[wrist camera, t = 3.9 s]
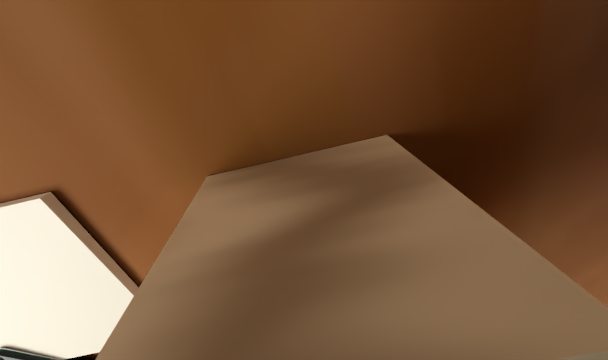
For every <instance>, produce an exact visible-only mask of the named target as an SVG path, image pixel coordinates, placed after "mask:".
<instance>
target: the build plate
mask: <svg viewBox="0 0 608 360" xmlns="http://www.w3.org/2000/svg"><path fill="white" fill-rule="evenodd" d="M0 360H61V359H57V358H52V357H47V356H42V355H37V354H32V353H27V352H22V351H17V350H12V349H7V348H0Z"/></svg>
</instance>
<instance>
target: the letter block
mask: <svg viewBox="0 0 608 360" xmlns="http://www.w3.org/2000/svg"><path fill="white" fill-rule="evenodd" d="M95 360H608V307H607V306H606V305H604V304H603V303H602V302H600V301H599V300H598V299H597V298H595V297H594V296H593V295H591V294H590V293H589V292H588V291H586V290H585V289H584V288H582V287H581V286H580V285H579V284H577V283H576V282H575V281H574V280H572V279H571V278H570V277H568V276H567V275H566V274H565V273H563V272H562V271H561V270H559V269H558V268H557V267H556V266H554V265H553V264H552V263H550V262H549V261H548V260H547V259H545V258H544V257H543V256H542V255H540V254H539V253H538V252H536V251H535V250H534V249H533V248H531V247H530V246H529V245H527V244H526V243H525V242H524V241H522V240H521V239H520V238H518V237H517V236H516V235H515V234H513V233H512V232H511V231H510V230H508V229H507V228H506V227H504V226H503V225H502V224H501V223H499V222H498V221H497V220H495V219H494V218H493V217H492V216H490V215H489V214H488V213H486V212H485V211H484V210H483V209H481V208H480V207H479V206H478V205H476V204H475V203H474V202H472V201H471V200H470V199H469V198H467V197H466V196H465V195H463V194H462V193H461V192H460V191H458V190H457V189H456V188H454V187H453V186H452V185H451V184H449V183H448V182H447V181H446V180H444V179H443V178H442V177H440V176H439V175H438V174H437V173H435V172H434V171H433V170H431V169H430V168H429V167H428V166H426V165H425V164H424V163H423V162H421V161H420V160H419V159H417V158H416V157H415V156H414V155H412V154H411V153H410V152H408V151H407V150H406V149H405V148H403V147H402V146H401V145H399V144H398V143H397V142H396V141H394V140H393V139H392V138H391V137H389V136H388V135H384V136H380V137H375V138H371V139H367V140H362V141H358V142H354V143H349V144H345V145H341V146H336V147H332V148H328V149H323V150H319V151H315V152H311V153H306V154H302V155H298V156H293V157H289V158H285V159H280V160H276V161H272V162H267V163H263V164H259V165H254V166H250V167H246V168H241V169H237V170H233V171H228V172H224V173H220V174H216V175H211V176H207V177H206V179H205V180H204V182H203V184H202V185H201V187H200V188H199V190H198V192H197V193H196V195H195V197H194V198H193V200H192V202H191V203H190V205H189V207H188V208H187V210H186V211H185V213H184V215H183V216H182V218H181V220H180V221H179V223H178V225H177V226H176V228H175V229H174V231H173V233H172V234H171V236H170V238H169V239H168V241H167V243H166V244H165V246H164V248H163V249H162V251H161V252H160V254H159V256H158V257H157V259H156V261H155V262H154V264H153V266H152V267H151V269H150V271H149V272H148V274H147V275H146V277H145V279H144V280H143V282H142V284H141V285H140V287H139V289H138V290H137V292H136V294H135V295H134V297H133V298H132V300H131V302H130V303H129V305H128V307H127V308H126V310H125V312H124V313H123V315H122V316H121V318H120V320H119V321H118V323H117V325H116V326H115V328H114V330H113V331H112V333H111V335H110V336H109V338H108V339H107V341H106V343H105V344H104V346H103V348H102V349H101V351H100V353H99V354H98V356H97V358H96V359H95Z"/></svg>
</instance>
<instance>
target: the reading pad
mask: <svg viewBox="0 0 608 360" xmlns="http://www.w3.org/2000/svg"><path fill="white" fill-rule="evenodd" d="M138 289H139V287H138V286H137V285H136V284H135V283H134V282H133V281H132V280H131V279H130V278H129V277H128V275H127V274H126V273H125V272H124V271H123V270H122V269H121V268H120V267H119V266H118V265H117V263H116V262H115V261H114V260H113V259H112V258H111V257H110V256H109V255H108V254H107V253H106V252H105V250H104V249H103V248H102V247H101V246H100V245H99V244H98V243H97V242H96V241H95V240H94V238H93V237H92V236H91V235H90V234H89V233H88V232H87V231H86V230H85V229H84V228H83V227H82V225H81V224H80V223H79V222H78V221H77V220H76V219H75V218H74V217H73V216H72V215H71V213H70V212H69V211H68V210H67V209H66V208H65V207H64V206H63V205H62V204H61V203H60V202H59V200H58V199H57V198H56V197H55V196H54V195H53V194H52V193H51V192H48V193H44V194H39V195H35V196H31V197H26V198H22V199H18V200H14V201H9V202H5V203H1V204H0V348H7V349H12V350H17V351H22V352H27V353H32V354H37V355H42V356H47V357H52V358H57V359H61V360H65V359H70V358H74V357H79V356H84V355H89V354H93V353H98V352H100V351H101V349H102V348H103V346H104V344H105V343H106V341H107V339H108V338H109V336H110V335H111V333H112V331H113V330H114V328H115V326H116V325H117V323H118V321H119V320H120V318H121V316H122V315H123V313H124V312H125V310H126V308H127V307H128V305H129V303H130V302H131V300H132V298H133V297H134V295H135V294H136V292H137V290H138Z"/></svg>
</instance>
